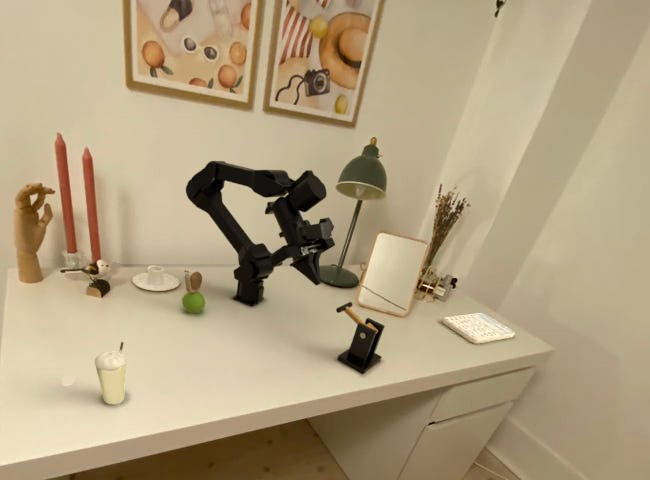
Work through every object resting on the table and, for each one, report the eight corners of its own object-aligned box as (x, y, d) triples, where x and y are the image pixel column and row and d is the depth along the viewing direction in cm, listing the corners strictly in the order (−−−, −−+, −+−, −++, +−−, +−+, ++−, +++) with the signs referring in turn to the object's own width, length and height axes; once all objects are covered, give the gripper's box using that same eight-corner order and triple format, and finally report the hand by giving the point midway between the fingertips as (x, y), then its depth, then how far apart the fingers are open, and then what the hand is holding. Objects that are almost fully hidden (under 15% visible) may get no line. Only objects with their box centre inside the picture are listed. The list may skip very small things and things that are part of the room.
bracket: (336, 360, 87) (348, 323, 82) (355, 347, 94) (367, 313, 88) (362, 374, 84) (375, 337, 79) (380, 360, 91) (393, 325, 85)
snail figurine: (175, 313, 92) (175, 267, 85) (190, 304, 97) (192, 259, 90) (194, 320, 90) (196, 274, 84) (208, 311, 96) (211, 266, 89)
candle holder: (188, 286, 105) (188, 272, 102) (151, 297, 96) (150, 281, 94) (161, 271, 110) (161, 257, 108) (123, 279, 101) (122, 264, 99)
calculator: (439, 321, 116) (442, 316, 115) (480, 316, 125) (482, 311, 124) (474, 345, 107) (477, 339, 106) (514, 337, 116) (518, 332, 115)
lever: (333, 312, 85) (339, 304, 84) (345, 306, 89) (351, 299, 88) (364, 343, 83) (370, 336, 82) (375, 335, 87) (382, 328, 85)
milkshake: (137, 393, 67) (134, 346, 61) (116, 411, 62) (111, 362, 57) (115, 384, 68) (110, 337, 62) (93, 401, 63) (86, 352, 58)
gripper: (289, 206, 75) (321, 278, 77) (338, 202, 88) (364, 263, 90) (256, 233, 83) (285, 298, 84) (305, 225, 96) (329, 281, 98)
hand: (318, 284), depth 89 cm, fingers closed
